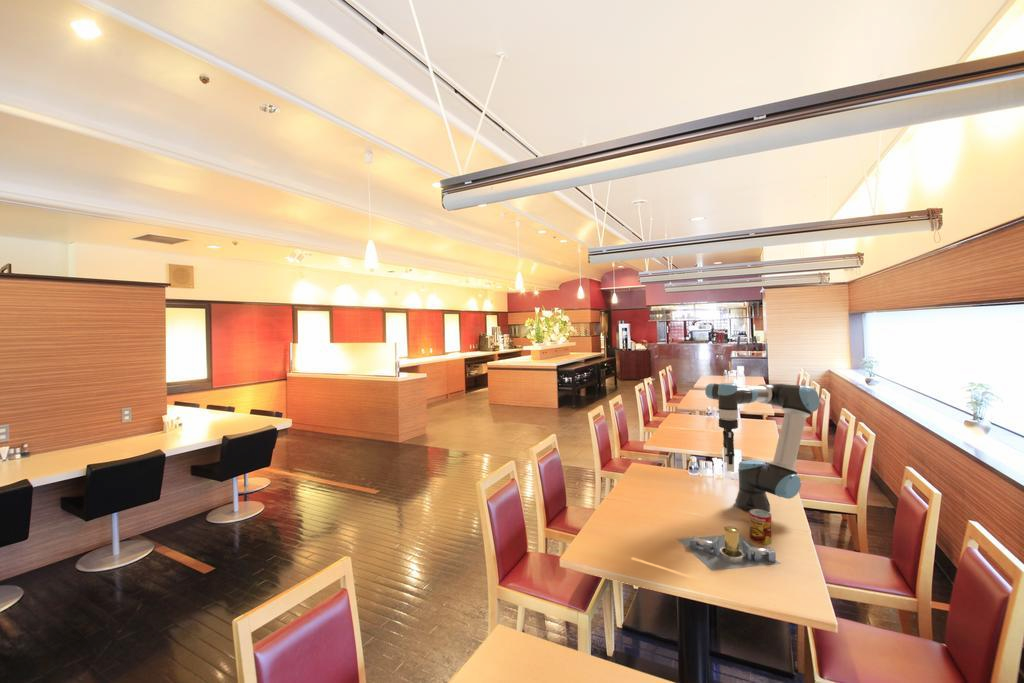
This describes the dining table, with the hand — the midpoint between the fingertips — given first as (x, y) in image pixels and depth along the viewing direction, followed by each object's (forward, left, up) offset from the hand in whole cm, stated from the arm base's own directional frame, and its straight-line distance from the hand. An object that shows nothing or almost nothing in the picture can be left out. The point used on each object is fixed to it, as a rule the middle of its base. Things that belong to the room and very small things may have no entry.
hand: (728, 466), depth 182 cm
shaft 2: (+4, +24, -28) cm, 37 cm away
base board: (+13, +16, -29) cm, 35 cm away
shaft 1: (+21, +14, -28) cm, 38 cm away
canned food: (-7, +10, -29) cm, 31 cm away
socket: (+14, +21, -28) cm, 38 cm away
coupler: (+14, +21, -28) cm, 38 cm away
